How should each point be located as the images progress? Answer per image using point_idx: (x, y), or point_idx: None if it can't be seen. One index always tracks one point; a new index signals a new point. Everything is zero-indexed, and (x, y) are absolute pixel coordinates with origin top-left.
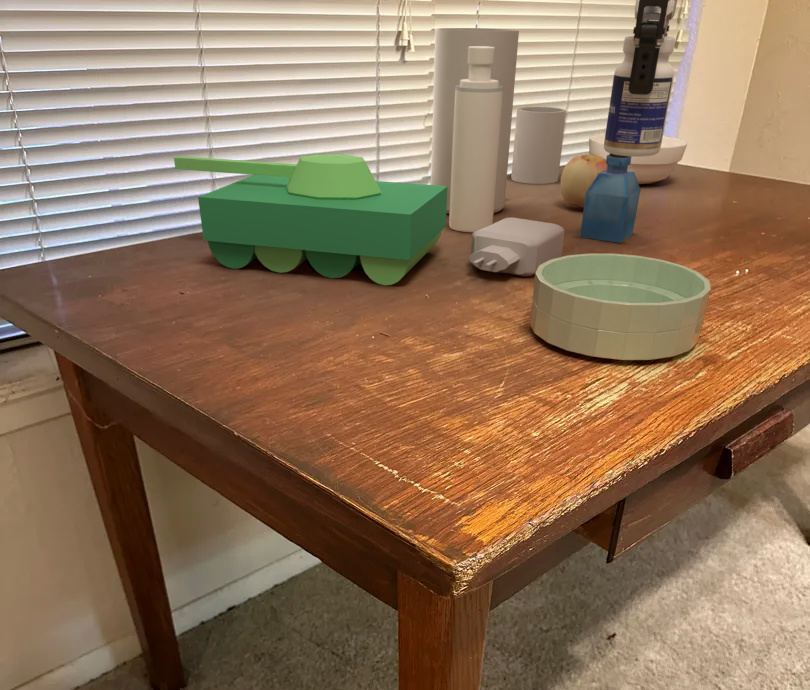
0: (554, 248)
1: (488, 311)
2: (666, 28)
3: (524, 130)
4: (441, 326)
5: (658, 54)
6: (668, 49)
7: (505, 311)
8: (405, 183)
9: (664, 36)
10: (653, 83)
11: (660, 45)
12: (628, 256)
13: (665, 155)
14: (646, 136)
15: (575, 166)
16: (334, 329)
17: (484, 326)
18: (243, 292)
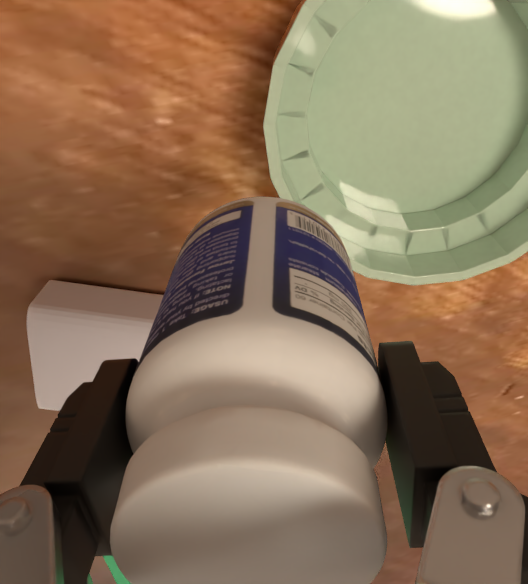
0: (83, 297)
1: (369, 308)
2: (54, 555)
3: None
4: (456, 343)
5: (449, 442)
6: (321, 431)
7: (360, 287)
8: (110, 565)
9: (490, 504)
10: (402, 357)
11: (494, 473)
12: (276, 144)
13: None
14: (343, 255)
15: None
16: (502, 438)
17: (438, 296)
18: (404, 545)
